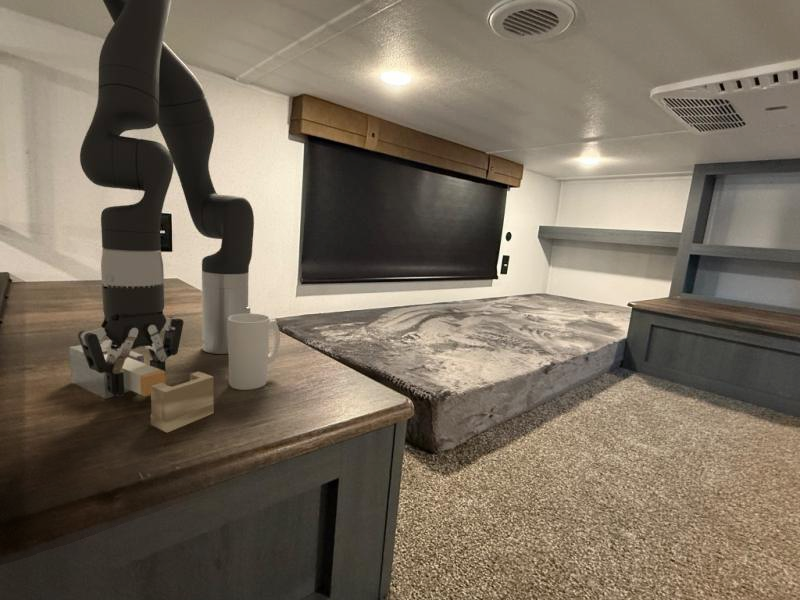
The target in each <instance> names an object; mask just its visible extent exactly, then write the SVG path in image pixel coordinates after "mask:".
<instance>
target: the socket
mask: <svg viewBox="0 0 800 600" xmlns="http://www.w3.org/2000/svg"><path fill="white" fill-rule="evenodd" d="M214 395H215V394H214V375H210V374H206V373H205V372H201V371H195V372H191V373H190V374H189V381H186V382H182V383H180V384H177V385H176V384H175V385H174V386H170V385H167V384H166V383H165V384H163V383H159V384H156V385H152V386H151V395H150V400H151V402H150V404H151V406H150V407H151V414H150V426H152V427H154V428H156V429H159V430H160V431H162V432H164V433H169V432H172V431H174V430H177V429H179V428H182V427H185V426H186V425H189V424H191V423H193V422H196V421H199V420H201V419H203V418H205V417H208V416H210V415H212V414H215V413H214V411H215V404H214Z"/></svg>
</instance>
